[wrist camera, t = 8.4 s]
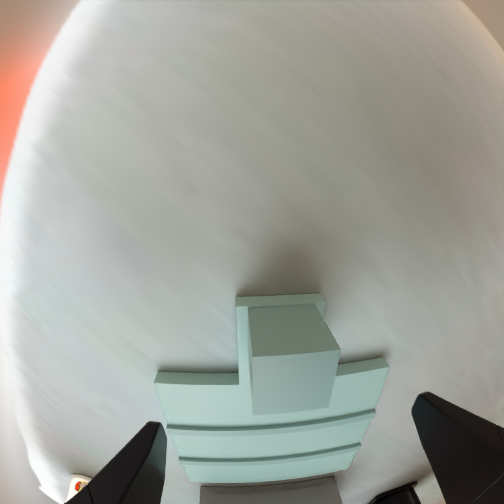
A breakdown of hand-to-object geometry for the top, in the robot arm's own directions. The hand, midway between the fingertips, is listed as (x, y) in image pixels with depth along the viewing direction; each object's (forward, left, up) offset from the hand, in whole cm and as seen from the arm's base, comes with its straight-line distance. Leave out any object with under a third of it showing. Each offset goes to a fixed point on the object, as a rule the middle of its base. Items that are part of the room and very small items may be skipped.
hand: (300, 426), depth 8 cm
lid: (0, +6, -6) cm, 9 cm away
